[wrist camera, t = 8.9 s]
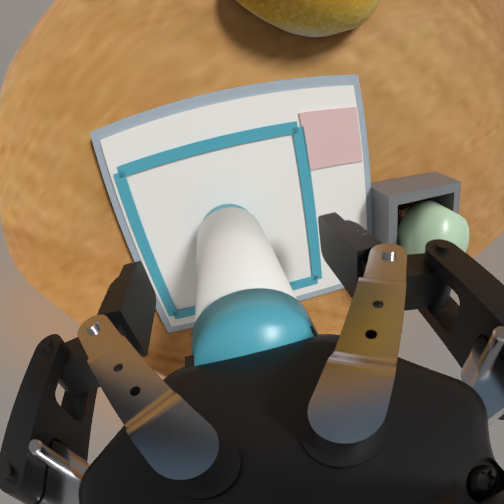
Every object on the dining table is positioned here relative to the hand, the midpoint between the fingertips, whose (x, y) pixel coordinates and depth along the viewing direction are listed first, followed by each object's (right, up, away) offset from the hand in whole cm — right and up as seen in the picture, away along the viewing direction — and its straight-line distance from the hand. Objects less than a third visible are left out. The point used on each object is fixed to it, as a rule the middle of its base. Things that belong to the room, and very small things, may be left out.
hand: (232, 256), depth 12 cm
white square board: (+1, +3, +3) cm, 4 cm away
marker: (0, +1, +3) cm, 3 cm away
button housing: (+11, +2, +5) cm, 12 cm away
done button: (+11, +1, +3) cm, 12 cm away
